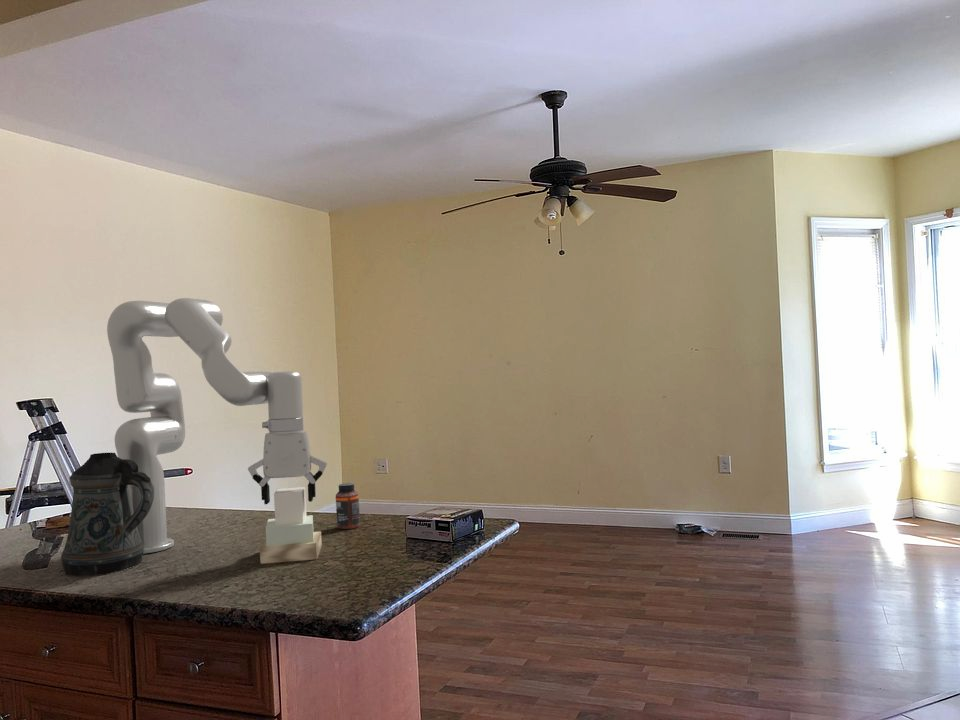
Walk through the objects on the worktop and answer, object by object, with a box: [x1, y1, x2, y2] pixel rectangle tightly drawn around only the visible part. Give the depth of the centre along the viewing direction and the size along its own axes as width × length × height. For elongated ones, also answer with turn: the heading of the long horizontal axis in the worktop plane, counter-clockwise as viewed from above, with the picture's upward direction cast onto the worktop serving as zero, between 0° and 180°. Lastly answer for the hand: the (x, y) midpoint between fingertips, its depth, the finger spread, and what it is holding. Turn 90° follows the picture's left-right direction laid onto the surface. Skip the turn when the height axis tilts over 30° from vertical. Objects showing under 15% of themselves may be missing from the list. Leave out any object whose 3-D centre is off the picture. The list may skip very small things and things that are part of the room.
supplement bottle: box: [335, 482, 361, 530], centre depth 193 cm, size 6×6×11 cm
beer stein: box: [60, 452, 154, 577], centre depth 165 cm, size 16×19×25 cm
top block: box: [265, 514, 314, 546], centre depth 167 cm, size 10×10×4 cm
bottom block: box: [259, 530, 323, 565], centre depth 167 cm, size 12×12×4 cm
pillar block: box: [273, 486, 308, 525], centre depth 167 cm, size 6×6×7 cm
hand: (289, 501), depth 167 cm, fingers open, 9 cm apart
